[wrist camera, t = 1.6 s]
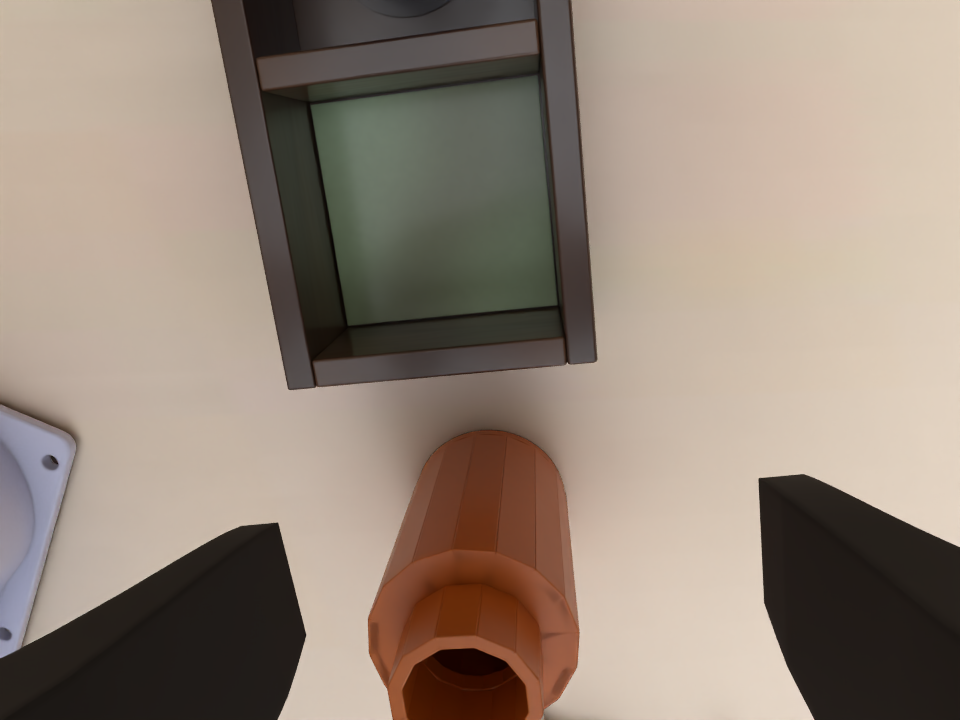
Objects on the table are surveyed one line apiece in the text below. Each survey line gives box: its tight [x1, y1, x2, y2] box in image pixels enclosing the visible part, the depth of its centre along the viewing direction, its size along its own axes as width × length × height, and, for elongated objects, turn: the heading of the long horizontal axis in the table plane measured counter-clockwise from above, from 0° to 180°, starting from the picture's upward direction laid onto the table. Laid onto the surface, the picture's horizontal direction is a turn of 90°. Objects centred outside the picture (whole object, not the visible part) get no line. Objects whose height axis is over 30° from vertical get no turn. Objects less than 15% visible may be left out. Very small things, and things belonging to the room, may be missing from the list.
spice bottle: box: [368, 430, 579, 720], centre depth 18 cm, size 5×5×8 cm
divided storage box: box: [211, 0, 597, 390], centre depth 17 cm, size 7×14×4 cm, turn 7°
